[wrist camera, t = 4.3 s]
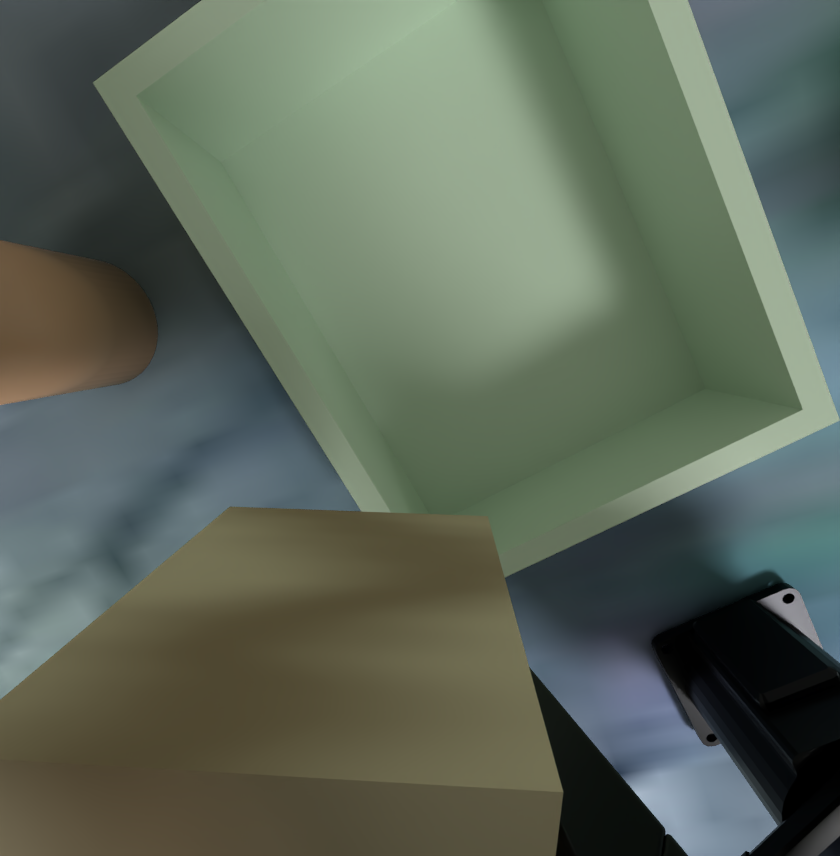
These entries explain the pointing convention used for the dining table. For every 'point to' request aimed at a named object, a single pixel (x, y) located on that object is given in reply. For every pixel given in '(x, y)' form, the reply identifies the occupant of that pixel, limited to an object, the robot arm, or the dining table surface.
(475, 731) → the maple cube
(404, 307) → the tote
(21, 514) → the dining table surface
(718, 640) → the robot arm
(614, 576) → the dining table surface
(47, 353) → the tan capsule
